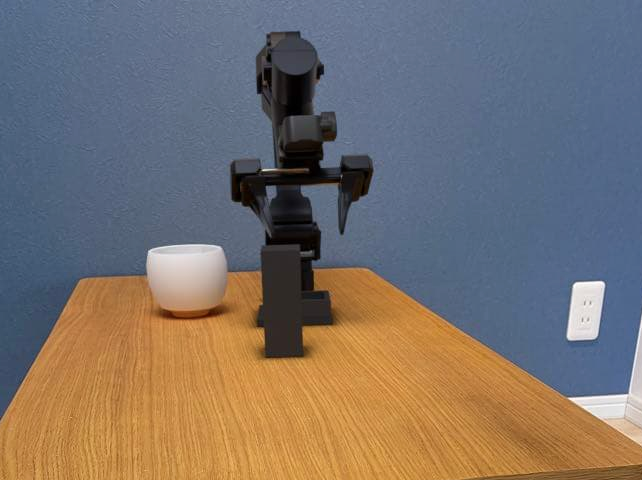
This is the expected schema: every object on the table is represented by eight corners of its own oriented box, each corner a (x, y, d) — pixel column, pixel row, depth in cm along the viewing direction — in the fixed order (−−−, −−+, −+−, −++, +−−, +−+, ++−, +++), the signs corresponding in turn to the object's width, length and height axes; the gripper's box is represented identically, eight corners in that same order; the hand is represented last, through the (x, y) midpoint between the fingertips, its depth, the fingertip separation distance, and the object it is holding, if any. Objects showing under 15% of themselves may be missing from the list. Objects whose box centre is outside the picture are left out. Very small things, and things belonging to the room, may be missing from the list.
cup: (136, 320, 131) (128, 254, 126) (174, 304, 141) (168, 242, 137) (208, 324, 127) (203, 256, 122) (242, 307, 137) (239, 244, 133)
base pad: (259, 311, 134) (258, 288, 133) (329, 309, 134) (329, 286, 133) (257, 326, 124) (256, 302, 123) (332, 324, 125) (332, 300, 123)
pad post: (266, 348, 113) (261, 245, 107) (302, 347, 113) (299, 244, 107) (265, 357, 108) (260, 250, 102) (303, 356, 108) (300, 249, 103)
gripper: (225, 89, 106) (237, 201, 103) (372, 85, 108) (388, 194, 105) (226, 149, 117) (236, 251, 114) (359, 144, 119) (373, 244, 116)
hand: (307, 235), depth 112 cm, fingers open, 9 cm apart
